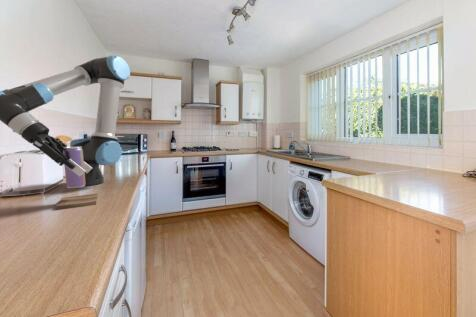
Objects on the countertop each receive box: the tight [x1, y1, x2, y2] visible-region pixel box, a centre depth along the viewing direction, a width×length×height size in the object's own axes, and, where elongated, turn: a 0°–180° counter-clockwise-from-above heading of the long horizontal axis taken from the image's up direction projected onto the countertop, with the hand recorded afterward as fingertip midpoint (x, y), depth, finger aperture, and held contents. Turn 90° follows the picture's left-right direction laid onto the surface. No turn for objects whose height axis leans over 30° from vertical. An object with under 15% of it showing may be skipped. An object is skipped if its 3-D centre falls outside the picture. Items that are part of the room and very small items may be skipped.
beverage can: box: [63, 146, 86, 189], centre depth 87 cm, size 6×6×15 cm
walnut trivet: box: [55, 193, 99, 211], centre depth 88 cm, size 12×12×1 cm
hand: (86, 172), depth 88 cm, fingers closed on beverage can, 6 cm apart
